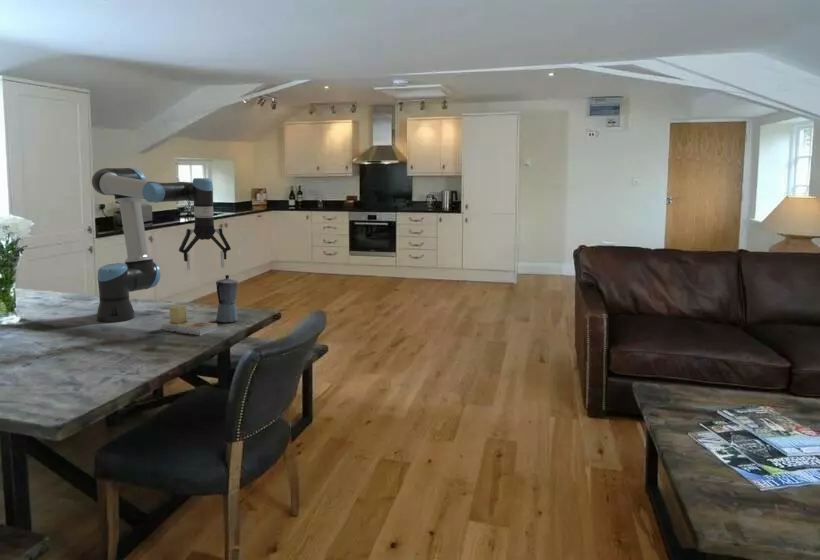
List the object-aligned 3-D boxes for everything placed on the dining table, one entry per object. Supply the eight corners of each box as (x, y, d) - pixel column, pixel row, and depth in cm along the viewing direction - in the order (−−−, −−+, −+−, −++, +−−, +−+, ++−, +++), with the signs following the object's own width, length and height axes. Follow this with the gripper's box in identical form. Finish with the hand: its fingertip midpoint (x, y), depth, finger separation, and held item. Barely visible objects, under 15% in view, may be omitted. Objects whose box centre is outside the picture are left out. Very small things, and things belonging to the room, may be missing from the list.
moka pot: (244, 317, 276) (243, 272, 273) (231, 326, 261) (229, 279, 257) (223, 316, 277) (221, 272, 273) (209, 325, 262) (207, 278, 258)
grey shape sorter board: (162, 329, 254) (161, 323, 254) (180, 324, 263) (180, 317, 263) (200, 335, 246) (199, 328, 245) (217, 329, 255) (217, 323, 254)
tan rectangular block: (170, 328, 256) (169, 307, 254) (178, 326, 260) (177, 305, 258) (178, 329, 254) (177, 308, 252) (186, 327, 258) (185, 306, 256)
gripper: (172, 218, 244) (175, 271, 248) (237, 216, 256) (238, 267, 260) (170, 216, 250) (172, 268, 254) (232, 215, 262) (234, 265, 266)
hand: (205, 268), depth 257 cm, fingers open, 13 cm apart
